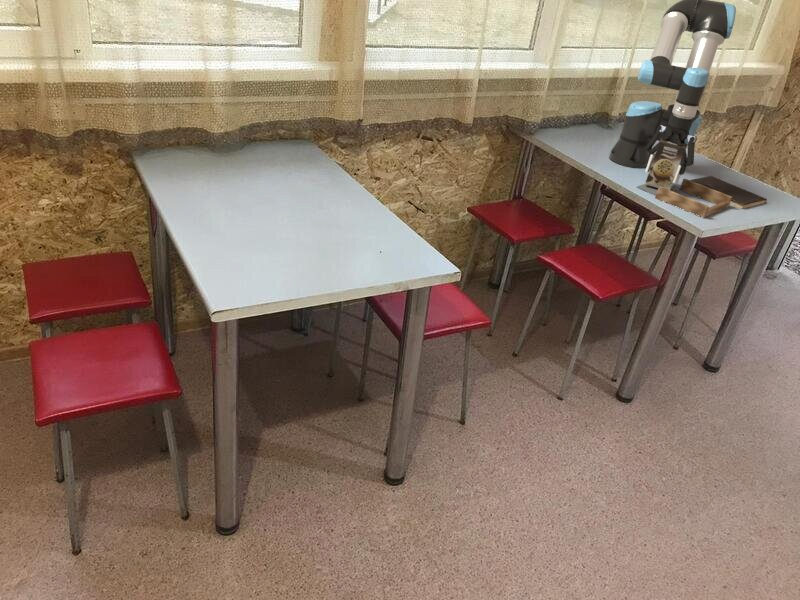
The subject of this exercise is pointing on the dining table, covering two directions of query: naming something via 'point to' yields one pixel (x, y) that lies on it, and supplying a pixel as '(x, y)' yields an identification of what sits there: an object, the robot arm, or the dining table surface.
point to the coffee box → (665, 164)
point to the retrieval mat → (652, 189)
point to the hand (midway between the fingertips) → (661, 176)
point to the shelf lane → (692, 205)
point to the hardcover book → (732, 192)
